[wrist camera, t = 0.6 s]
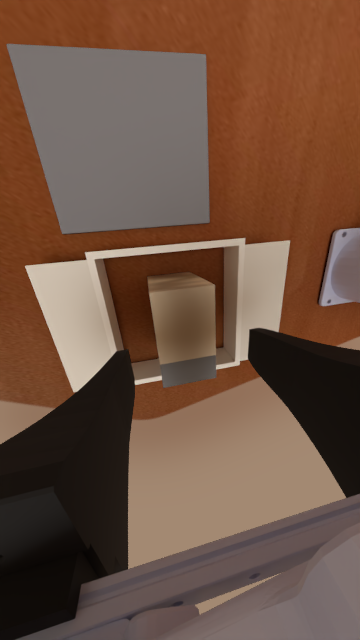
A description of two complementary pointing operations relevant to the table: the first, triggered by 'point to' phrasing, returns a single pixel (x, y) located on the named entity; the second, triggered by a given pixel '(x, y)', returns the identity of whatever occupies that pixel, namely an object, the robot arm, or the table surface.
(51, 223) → the table surface
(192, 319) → the block
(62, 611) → the robot arm
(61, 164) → the mat
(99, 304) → the beige hollow rectangular frame
